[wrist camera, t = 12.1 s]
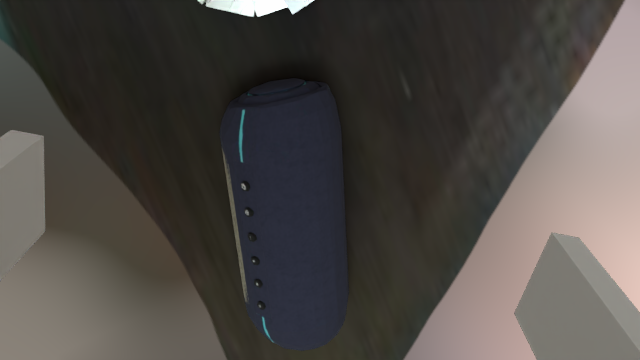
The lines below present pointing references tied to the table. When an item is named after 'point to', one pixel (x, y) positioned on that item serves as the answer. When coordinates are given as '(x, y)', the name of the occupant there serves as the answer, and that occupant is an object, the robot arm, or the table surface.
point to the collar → (256, 6)
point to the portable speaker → (288, 209)
